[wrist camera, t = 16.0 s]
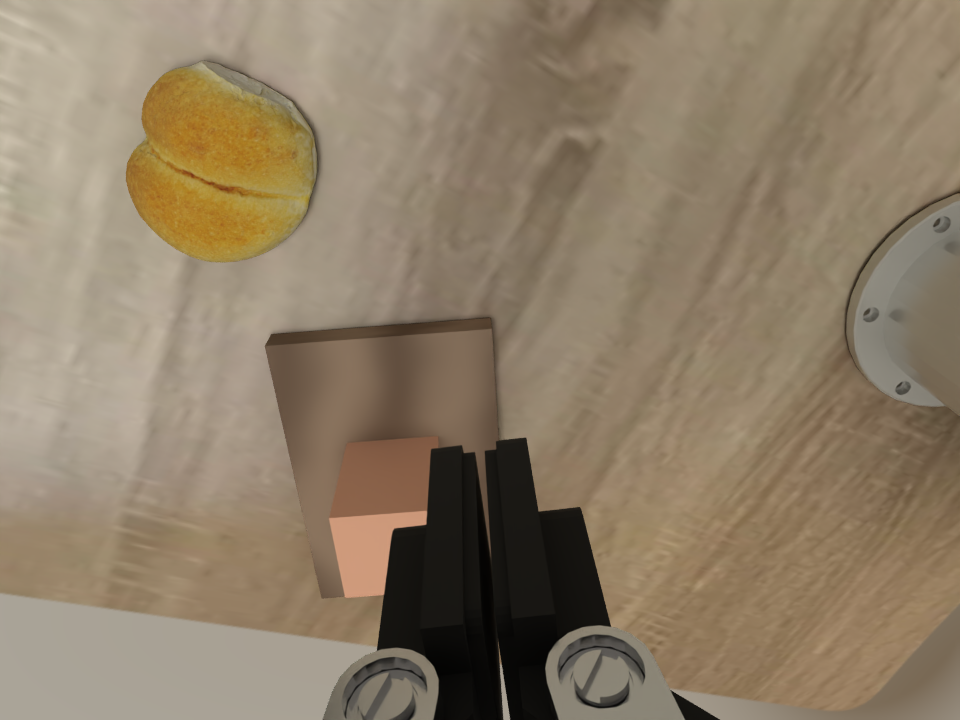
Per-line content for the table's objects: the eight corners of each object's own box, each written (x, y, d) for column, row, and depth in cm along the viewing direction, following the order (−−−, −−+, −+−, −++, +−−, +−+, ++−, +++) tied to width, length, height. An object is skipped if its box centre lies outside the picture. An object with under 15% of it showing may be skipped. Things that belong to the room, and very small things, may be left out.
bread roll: (124, 212, 35) (87, 235, 31) (173, 37, 32) (138, 39, 28) (281, 280, 37) (263, 308, 33) (344, 121, 33) (331, 134, 30)
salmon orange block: (438, 435, 40) (436, 510, 34) (446, 508, 42) (445, 590, 36) (346, 442, 39) (328, 518, 34) (359, 515, 42) (345, 597, 36)
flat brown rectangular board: (490, 317, 38) (498, 377, 32) (506, 567, 46) (515, 654, 40) (271, 334, 38) (236, 397, 32) (325, 581, 46) (305, 670, 40)
